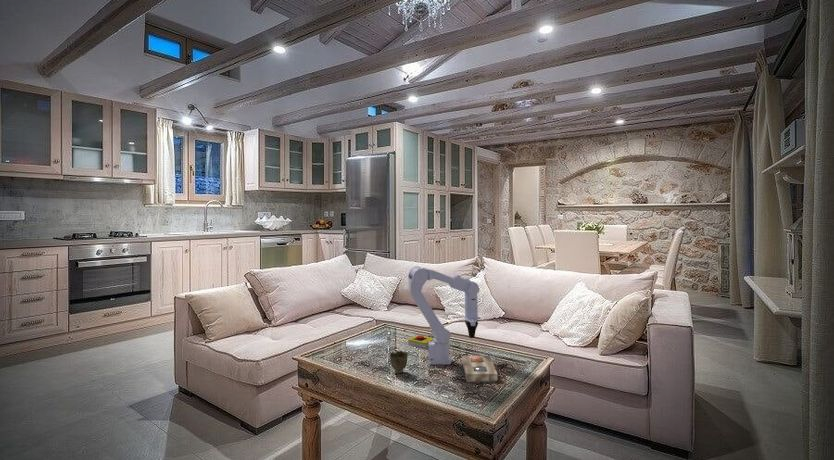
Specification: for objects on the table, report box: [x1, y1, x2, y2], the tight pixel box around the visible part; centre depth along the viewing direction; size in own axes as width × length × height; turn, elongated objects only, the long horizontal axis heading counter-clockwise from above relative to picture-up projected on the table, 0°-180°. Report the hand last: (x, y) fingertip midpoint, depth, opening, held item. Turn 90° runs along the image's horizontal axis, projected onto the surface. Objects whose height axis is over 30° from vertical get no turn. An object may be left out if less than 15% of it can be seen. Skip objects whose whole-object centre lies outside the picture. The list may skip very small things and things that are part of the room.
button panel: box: [461, 355, 499, 383], centre depth 164 cm, size 12×20×3 cm, turn 178°
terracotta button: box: [472, 355, 482, 362], centre depth 169 cm, size 4×4×3 cm
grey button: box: [475, 366, 486, 372], centre depth 159 cm, size 4×4×3 cm
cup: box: [389, 350, 408, 374], centre depth 165 cm, size 8×7×8 cm
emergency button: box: [407, 334, 434, 350], centre depth 201 cm, size 9×4×15 cm
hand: (471, 337), depth 180 cm, fingers closed
